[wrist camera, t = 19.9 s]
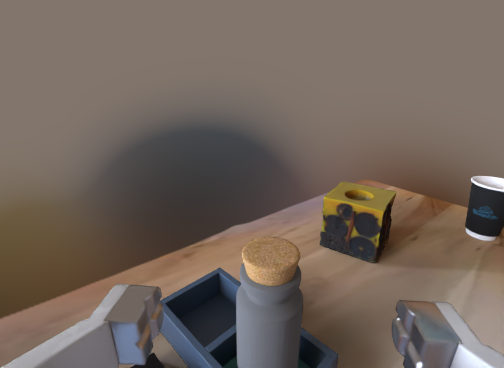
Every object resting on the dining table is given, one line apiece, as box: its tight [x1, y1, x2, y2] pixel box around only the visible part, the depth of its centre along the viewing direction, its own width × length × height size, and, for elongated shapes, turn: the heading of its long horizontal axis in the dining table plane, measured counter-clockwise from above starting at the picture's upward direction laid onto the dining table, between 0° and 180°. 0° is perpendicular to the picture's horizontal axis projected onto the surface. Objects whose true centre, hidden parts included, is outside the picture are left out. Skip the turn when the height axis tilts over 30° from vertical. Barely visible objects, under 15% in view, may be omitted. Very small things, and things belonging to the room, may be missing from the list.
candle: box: [320, 182, 396, 263], centre depth 52 cm, size 10×10×10 cm
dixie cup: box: [465, 176, 504, 241], centre depth 54 cm, size 8×8×11 cm
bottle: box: [236, 237, 303, 368], centre depth 26 cm, size 6×6×15 cm
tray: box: [159, 268, 338, 368], centre depth 31 cm, size 10×18×4 cm, turn 44°
